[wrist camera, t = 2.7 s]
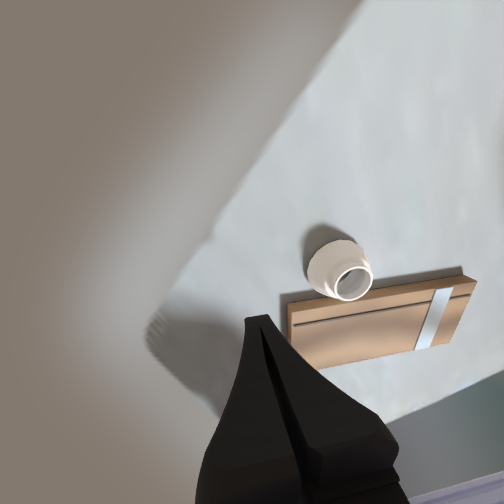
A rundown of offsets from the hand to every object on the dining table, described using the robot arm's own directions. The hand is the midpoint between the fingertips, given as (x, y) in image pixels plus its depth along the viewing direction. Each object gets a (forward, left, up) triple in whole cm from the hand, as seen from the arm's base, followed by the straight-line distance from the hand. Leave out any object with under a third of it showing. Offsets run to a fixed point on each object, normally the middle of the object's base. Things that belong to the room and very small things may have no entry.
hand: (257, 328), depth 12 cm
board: (-7, -13, -5) cm, 15 cm away
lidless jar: (0, -8, -6) cm, 10 cm away
